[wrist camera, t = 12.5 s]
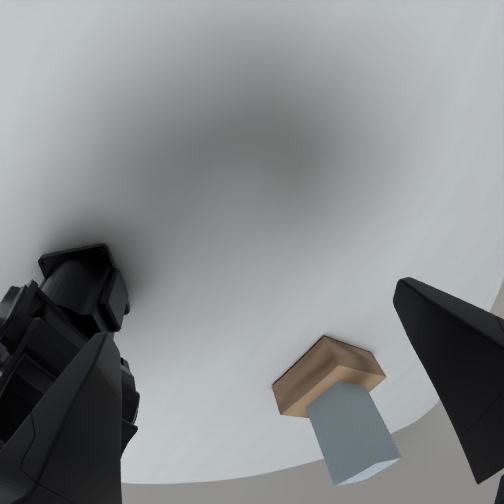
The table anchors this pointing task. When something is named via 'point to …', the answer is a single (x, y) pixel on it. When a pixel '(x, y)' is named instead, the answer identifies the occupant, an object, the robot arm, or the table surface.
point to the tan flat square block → (324, 375)
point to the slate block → (351, 433)
